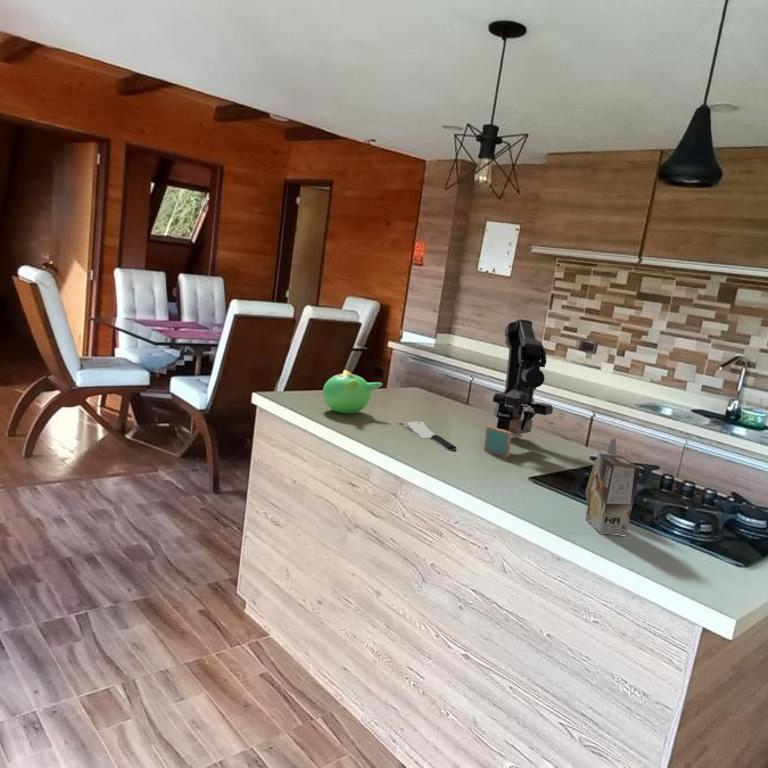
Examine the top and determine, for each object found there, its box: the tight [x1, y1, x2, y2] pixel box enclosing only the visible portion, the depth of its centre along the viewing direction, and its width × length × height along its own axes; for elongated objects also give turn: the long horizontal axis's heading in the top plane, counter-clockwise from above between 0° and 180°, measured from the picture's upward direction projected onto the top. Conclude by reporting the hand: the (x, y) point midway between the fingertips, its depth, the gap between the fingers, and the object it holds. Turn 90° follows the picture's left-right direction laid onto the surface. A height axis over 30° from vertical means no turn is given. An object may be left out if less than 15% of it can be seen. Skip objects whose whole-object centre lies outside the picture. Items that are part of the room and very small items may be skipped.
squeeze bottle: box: [585, 437, 621, 504], centre depth 156 cm, size 8×8×18 cm
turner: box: [502, 417, 534, 440], centre depth 201 cm, size 18×7×4 cm, turn 140°
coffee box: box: [585, 453, 641, 536], centre depth 143 cm, size 9×6×16 cm
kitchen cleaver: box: [405, 421, 457, 452], centre depth 206 cm, size 31×2×10 cm
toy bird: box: [322, 369, 383, 415], centre depth 222 cm, size 18×17×15 cm
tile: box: [483, 425, 512, 459], centre depth 195 cm, size 1×8×8 cm, turn 50°
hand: (517, 429), depth 204 cm, fingers closed on turner, 3 cm apart
